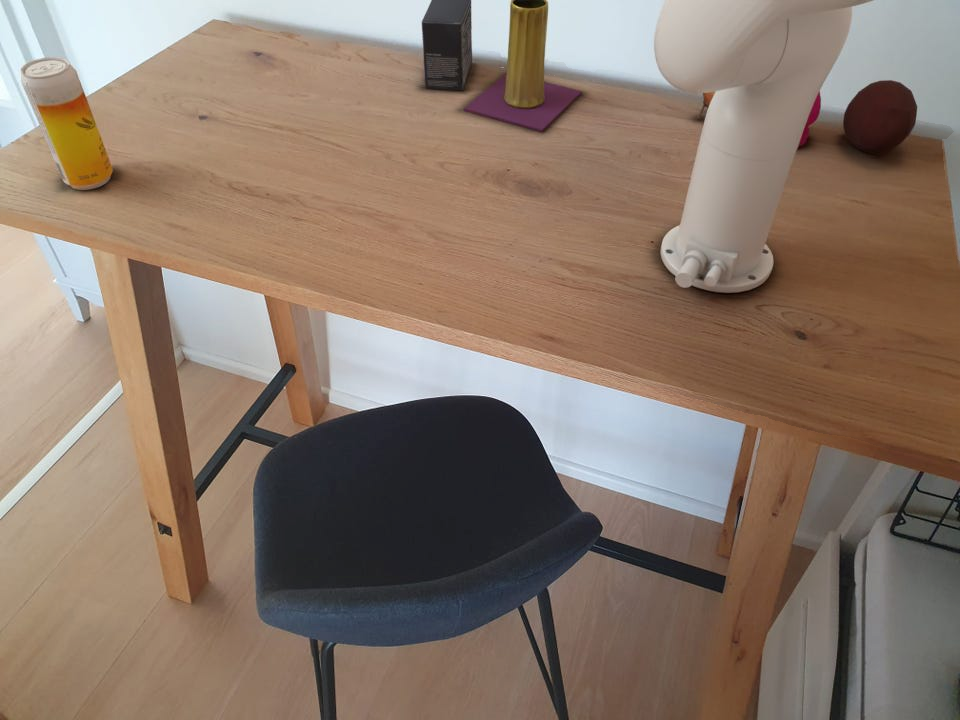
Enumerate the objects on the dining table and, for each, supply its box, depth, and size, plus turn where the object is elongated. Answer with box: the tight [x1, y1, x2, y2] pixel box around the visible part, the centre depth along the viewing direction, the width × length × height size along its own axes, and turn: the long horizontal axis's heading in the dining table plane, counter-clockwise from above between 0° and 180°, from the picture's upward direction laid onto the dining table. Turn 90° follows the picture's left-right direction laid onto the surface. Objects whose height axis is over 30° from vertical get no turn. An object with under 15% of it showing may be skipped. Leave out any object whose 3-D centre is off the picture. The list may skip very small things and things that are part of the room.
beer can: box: [20, 56, 114, 191], centre depth 94 cm, size 6×6×15 cm
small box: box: [421, 0, 473, 92], centre depth 119 cm, size 11×6×10 cm, turn 173°
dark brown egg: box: [842, 79, 918, 155], centre depth 104 cm, size 9×12×9 cm
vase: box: [504, 0, 549, 108], centre depth 111 cm, size 6×6×14 cm
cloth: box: [463, 73, 583, 133], centre depth 116 cm, size 14×13×1 cm
